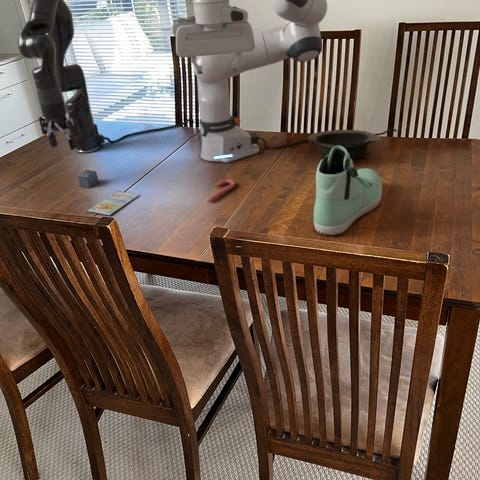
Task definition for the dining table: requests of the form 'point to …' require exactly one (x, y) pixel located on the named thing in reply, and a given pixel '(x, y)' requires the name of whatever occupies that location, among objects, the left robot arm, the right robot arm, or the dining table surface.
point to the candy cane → (222, 189)
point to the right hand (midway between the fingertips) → (217, 72)
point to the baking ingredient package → (113, 203)
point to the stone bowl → (343, 141)
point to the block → (88, 178)
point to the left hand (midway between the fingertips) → (64, 147)
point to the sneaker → (343, 192)
